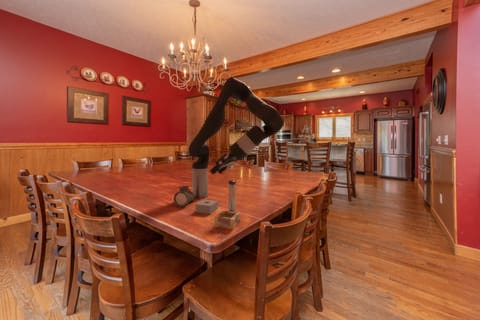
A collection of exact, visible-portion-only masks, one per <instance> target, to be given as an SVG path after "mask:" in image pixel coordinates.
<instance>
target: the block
mask: <svg viewBox="0 0 480 320" xmlns="http://www.w3.org/2000/svg"><path fill="white" fill-rule="evenodd" d="M194 209H195V213H199V214H204V215H205V214H206V215H211V214H213V213H214V212H216V211H217V210H218V209H219V201H218V200H212V199H211V200H210V199H202V200H200V201H198V202H196V203H195V208H194Z"/></svg>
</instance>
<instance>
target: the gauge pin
mask: <svg viewBox="0 0 480 320" xmlns="http://www.w3.org/2000/svg"><path fill="white" fill-rule="evenodd" d="M227 183H228V211H230V212H237V210H236V209H237V208H236V203H237V202H236V201H237V199H236V198H237V197H236V194H237V193H236V190H237V189H236V186H237V185H236V184H237V182H236V180H228V182H227Z"/></svg>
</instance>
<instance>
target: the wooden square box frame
mask: <svg viewBox="0 0 480 320" xmlns="http://www.w3.org/2000/svg"><path fill="white" fill-rule="evenodd" d="M240 223H241V212H237V211H236V212H230V211H229V210H222V211H220V212H219V213H218V214H217V215H216V216H214V227H215V228H220V229H221V228H222V229H227V230H235V229H236V227H237V226H238V225H239V224H240Z"/></svg>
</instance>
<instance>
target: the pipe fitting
mask: <svg viewBox="0 0 480 320" xmlns="http://www.w3.org/2000/svg"><path fill="white" fill-rule="evenodd" d="M178 189H179V191H177V192H176V193H175V194H174V195H173V203H174V204H175V205H176V207H179V208H184V207H185V206H187V205H189V203H191V202H192V201H193V200H194V199H195V197H194V193H193V191H191V189H190V187H189V185H181V186H178Z"/></svg>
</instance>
